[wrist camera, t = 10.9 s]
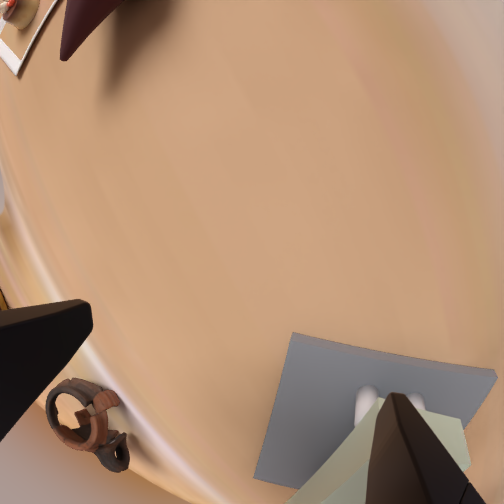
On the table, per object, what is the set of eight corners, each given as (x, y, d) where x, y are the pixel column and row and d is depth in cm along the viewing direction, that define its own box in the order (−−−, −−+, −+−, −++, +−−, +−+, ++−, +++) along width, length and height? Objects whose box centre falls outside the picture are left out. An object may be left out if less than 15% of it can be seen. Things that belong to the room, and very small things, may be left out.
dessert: (83, -25, 17) (49, -39, 13) (23, 77, 22) (-13, 75, 18) (43, -39, 18) (15, -48, 13) (-5, 43, 22) (-33, 40, 18)
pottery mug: (70, 393, 34) (28, 402, 26) (112, 356, 34) (70, 360, 26) (123, 468, 31) (89, 493, 23) (173, 437, 31) (142, 463, 23)
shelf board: (460, 419, 15) (471, 464, 11) (346, 518, 21) (341, 552, 17) (378, 397, 16) (379, 448, 12) (284, 503, 22) (273, 538, 18)
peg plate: (494, 369, 17) (510, 403, 14) (400, 495, 23) (399, 524, 19) (292, 332, 21) (280, 367, 17) (255, 470, 27) (244, 500, 23)
